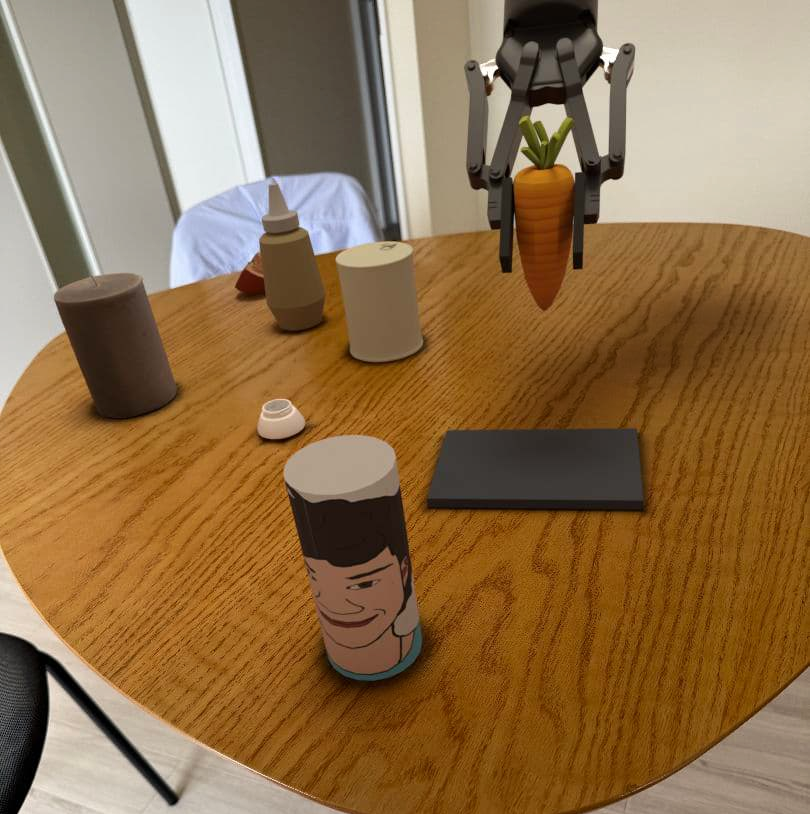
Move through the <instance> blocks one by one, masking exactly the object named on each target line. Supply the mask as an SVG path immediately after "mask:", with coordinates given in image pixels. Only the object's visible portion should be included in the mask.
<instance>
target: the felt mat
mask: <svg viewBox="0 0 810 814" xmlns="http://www.w3.org/2000/svg"><path fill="white" fill-rule="evenodd" d="M443 438H444V439H443V442H442V444H441V449H440V452H439V457H438V459H437V462H436V466H435V470H434V473H433V476H432V480H431V483H430V486H429V490H428V493H427V496H426V503H427V508H433V509H434V508H435V509H436V508H437V509H438V508H442V509H443V508H445V509H446V508H447V509H522V510H523V509H525V510H526V509H529V510H530V509H531V510H532V509H533V510H534V509H535V510H608V511H609V510H611V511H612V510H614V511H615V510H617V511H618V510H620V511H627V510H628V511H643V510H644V503H645V499H644V490H643V479H642V478H643V477H642V466H641V457H640V456H641V455H640V445H639V434H638V428H637V427H630V428H629V427H628V428H627V427H623V428H621V427H619V428H618V427H617V428H614V427H613V428H611V427H610V428H544V429H543V428H533V429H532V428H528V429H526V428H525V429H524V428H521V429H515V428H514V429H446V431H445V435H444V437H443Z"/></svg>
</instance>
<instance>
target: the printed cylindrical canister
mask: <svg viewBox="0 0 810 814" xmlns="http://www.w3.org/2000/svg"><path fill="white" fill-rule="evenodd" d="M283 480H284V483H285V488H286V491H287V495H288V499H289V504H290V508H291V512H292V516H293V519H294V524H295V528H296V533H297V536H298V541H299V544H300V549H301V553H302V555H303V556H302V557H303V560H304V565H305V569H306V572H307V573H306V574H307V577H308V582H309V585H310V589H311V594H312V597H313V601H314V605H315V609H316V614H317V618H318V622H319V626H320V630H321V633H322V638H323V642H324V646H325V651H326V654H327V658H328V661H329V662H330V665H331V666H332V667H333V669H334V670H336V671H337V672H338V673H340V674H341V675H342V676H344V677H346V678H350V679H353V680H356V681H372V682H373V681H378V680H383V679H384V680H385V679H388V678H392V677H393V676H396V675H397V674H399V673H402V672H404V671H405V670H406V669H408V668H409V667H410V666H411V665H412V664H414V662H415V661H416V659H417V658H418V656H419V655H420V653H421V650H422V646H423V645H422V644H423V636H422V630H421V629H422V628H421V623H420V622H421V621H420V615H419V608H418V601H417V595H416V587H415V580H414V573H413V566H412V560H411V552H410V545H409V539H408V538H409V537H408V531H407V523H406V517H405V510H404V504H403V495H402V489H401V483H400V475H399V468H398V461H397V456H396V452H395V449H394V447H392V446H391V444H389V443H388V442H387V441H385V440H382V439H380V438H378V437H375V436H369V435H362V434H343V435H336V436H332V437H326V438H324V439H321V440H318V441H314V442H312V443H310V444H308V445H306V446H304V447H302V448H301V449H299V450H297V451H296V452H295V453H293V455H291V457H289V458H288V459H287V461H286V463H285V466H284V467H283Z"/></svg>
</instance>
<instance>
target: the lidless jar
mask: <svg viewBox="0 0 810 814" xmlns="http://www.w3.org/2000/svg"><path fill="white" fill-rule="evenodd" d="M305 426H306V420H305V417H304V415H302V413H301V412H300V410H298V409H297V407H296V406H295V405H293V404H292V402H291V401H290V400H289V399H287V398H276V399H272V400H269V401H267V402H265V403H264V404H263V405H262V407H261V413H260V414H259V419H258V422H257V426H256V429H257V432H258V435H259V436H261V437H262V438H265V439H268V440H269V439H270V440H282V439H287V438H290V437H292V436H294V435H296V434H298V433H300V432H301V431H302V430H303V429H304V428H305Z"/></svg>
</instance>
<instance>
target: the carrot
mask: <svg viewBox="0 0 810 814" xmlns="http://www.w3.org/2000/svg"><path fill="white" fill-rule="evenodd" d="M574 123H575V122H574V120H572V119H571V118H567V116H566V117H565V118H564V119H563V120H562V122H561V124H560V125H559V128H558V129H557V131H554V132H553V133H552V135H551V137H550V138H549V136H548V134H547V133H548V132H547V130H546V128H545V126H544V124H543V122H542V121H541V120H536V121H534V122H532V120H531V116H530V117H529V115H528V116H524V117H522V119H521V120H520V121H519V126H520V129H521V131H522V134H523V138H524V140H525V143H526V144H527V146H522V147H521V148H519V149H520V152H521V154H522V155H524V156H525V158H527V159H528V160H529V162H531V163H532V164H533V165H530V166H527V167H524V168H522V169H520V170H519V171H518V172H516V174H515V175H514V177H513V196H514V227H515V236H516V242H517V247H518V252H519V257H520V262H521V267H522V269H523V270H522V271H523V275H524V279H525V281H526V284H527V287H528V290H529V292H530V294H531V296H532V298H533V300H534V302H535V303H536V305H537V308H539V309H540V310H541V311H543V312H546V311H547V310H548V309H550V307H551V306H552V305H553V303H554V301H555V299H556V298H557V296H558V294H559V292H560V289H561V287H562V284H563V281H564V278H565V276H566V273H567V267H568V262H569V257H570V253H571V248H572V242H573V223H574V190H575V177H574V175H573V172H572V171H571V169H569V167H567V165H565V164H562V163H556V161H557V158H558V156H559V154H560V153H561V150H562V148H563V146H564V143H565V141H566V140H567V137H568V135H569V134H570V132H571V128H572V127H573V125H574Z"/></svg>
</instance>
